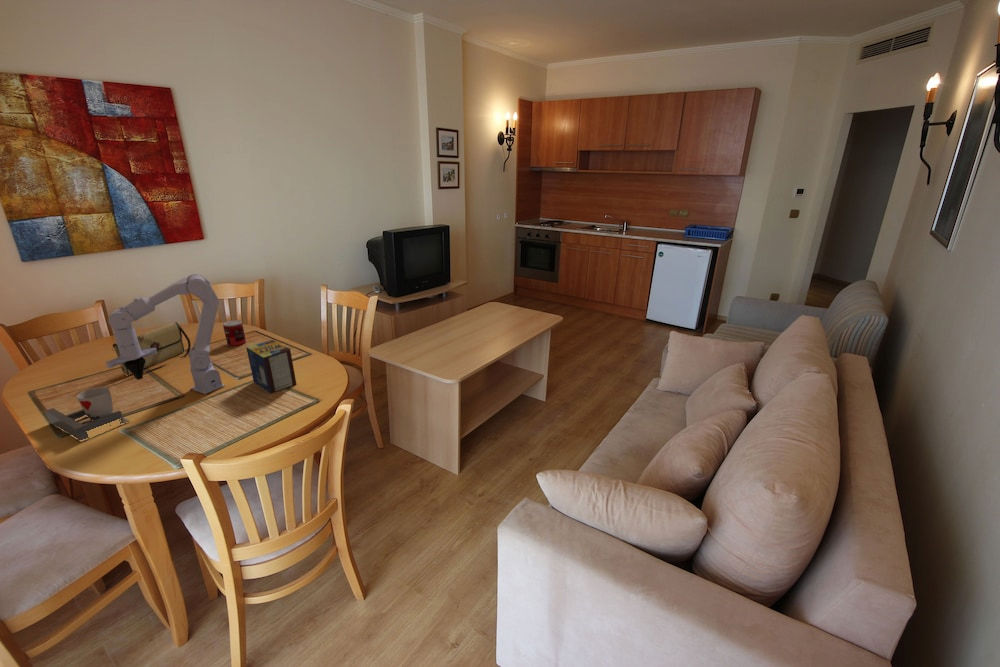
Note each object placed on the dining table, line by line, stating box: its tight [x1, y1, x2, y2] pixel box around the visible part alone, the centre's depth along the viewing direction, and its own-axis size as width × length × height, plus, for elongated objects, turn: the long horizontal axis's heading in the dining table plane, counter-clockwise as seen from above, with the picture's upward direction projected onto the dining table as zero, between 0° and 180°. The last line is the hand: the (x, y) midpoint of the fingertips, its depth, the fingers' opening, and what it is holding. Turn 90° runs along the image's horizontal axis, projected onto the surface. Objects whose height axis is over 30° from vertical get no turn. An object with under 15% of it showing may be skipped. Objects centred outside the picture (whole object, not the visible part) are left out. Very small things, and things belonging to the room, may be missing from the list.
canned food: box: [222, 319, 247, 347], centre depth 208 cm, size 8×8×11 cm
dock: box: [44, 407, 130, 440], centre depth 144 cm, size 22×13×5 cm, turn 63°
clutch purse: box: [111, 321, 192, 376], centre depth 185 cm, size 30×7×15 cm, turn 166°
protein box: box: [246, 339, 297, 394], centre depth 170 cm, size 10×15×16 cm
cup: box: [76, 386, 114, 421], centre depth 146 cm, size 8×8×10 cm
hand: (139, 378), depth 155 cm, fingers closed
